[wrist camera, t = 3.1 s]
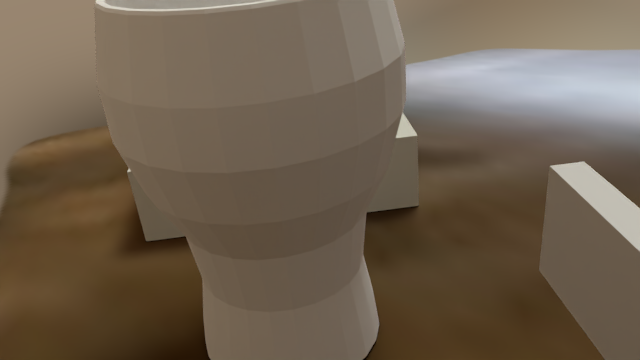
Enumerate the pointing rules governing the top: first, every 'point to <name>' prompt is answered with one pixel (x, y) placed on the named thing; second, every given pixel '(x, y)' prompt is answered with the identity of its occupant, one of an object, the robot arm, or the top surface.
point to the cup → (261, 155)
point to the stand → (390, 194)
